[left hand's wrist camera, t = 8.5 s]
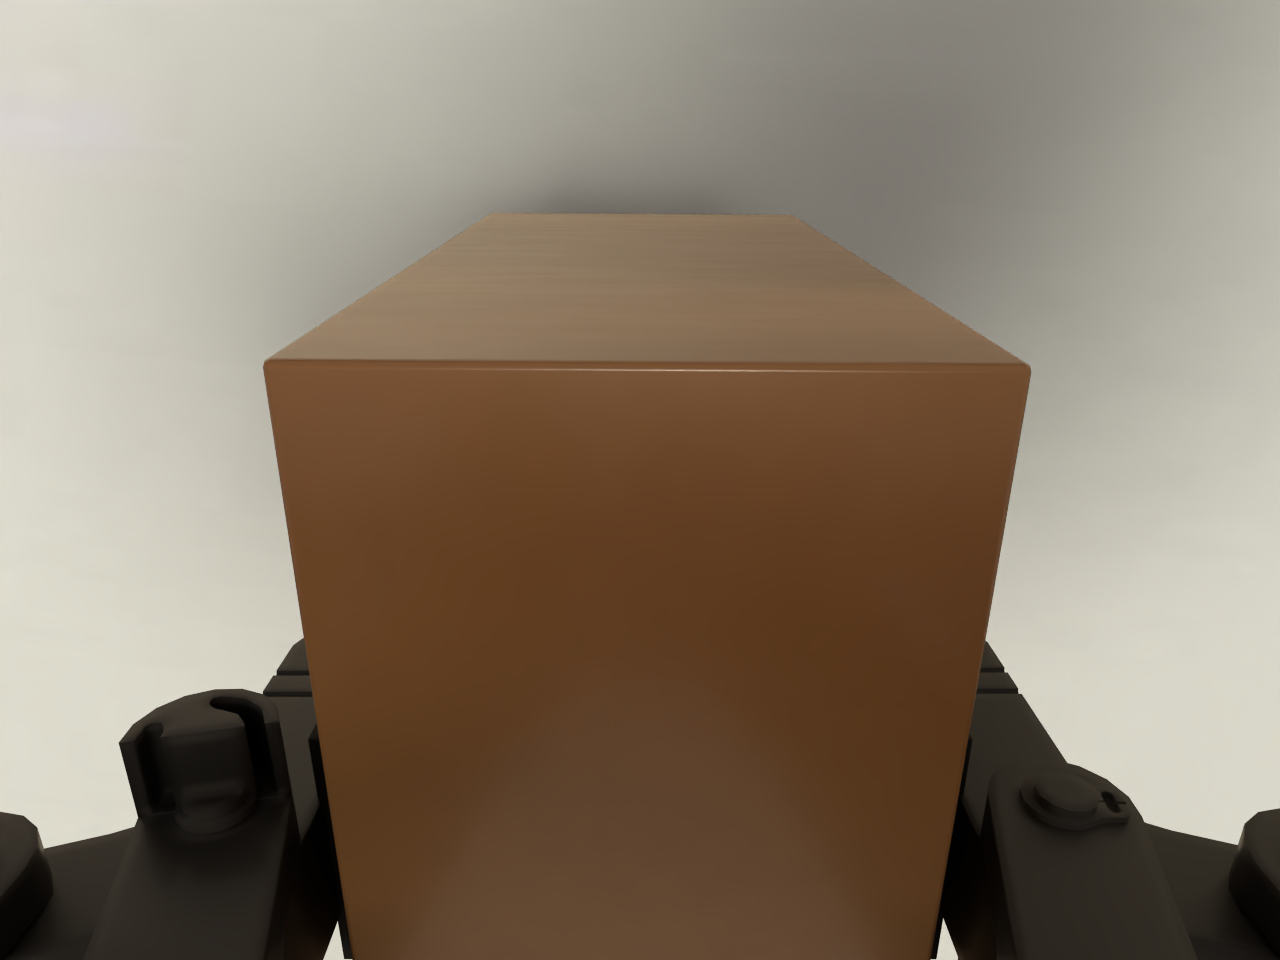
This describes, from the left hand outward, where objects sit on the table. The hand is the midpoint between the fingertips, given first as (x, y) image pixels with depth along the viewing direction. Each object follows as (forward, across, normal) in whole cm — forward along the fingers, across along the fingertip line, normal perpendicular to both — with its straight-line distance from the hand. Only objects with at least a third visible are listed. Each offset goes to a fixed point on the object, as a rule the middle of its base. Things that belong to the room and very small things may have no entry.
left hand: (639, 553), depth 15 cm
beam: (+1, 0, -25) cm, 25 cm away
